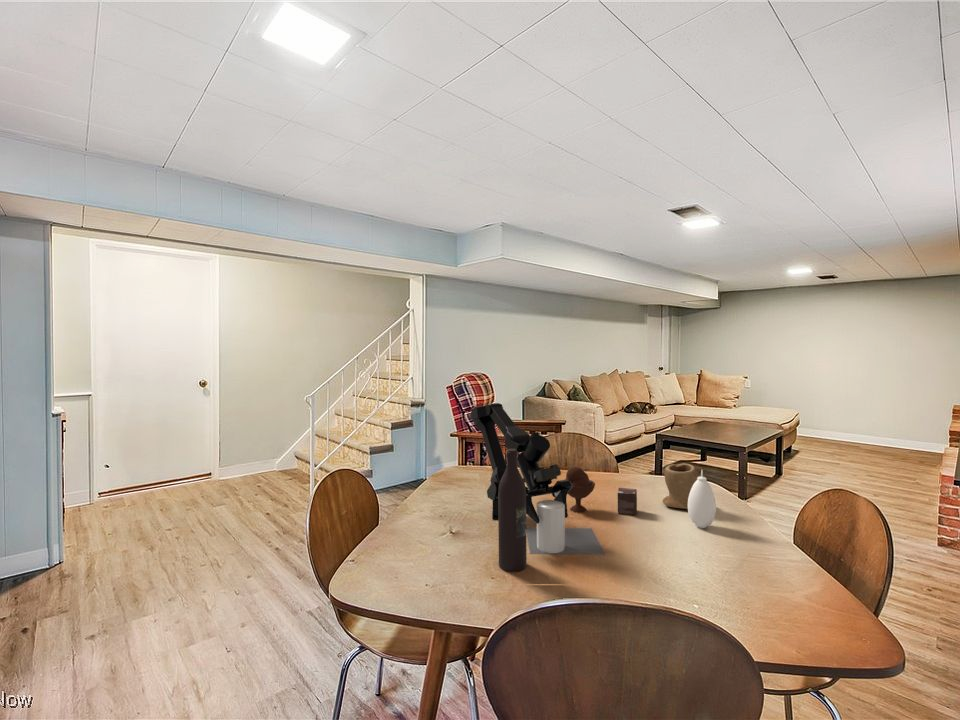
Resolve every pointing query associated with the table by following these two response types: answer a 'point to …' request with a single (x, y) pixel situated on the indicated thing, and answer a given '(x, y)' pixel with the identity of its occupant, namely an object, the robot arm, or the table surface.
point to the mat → (570, 542)
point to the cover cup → (551, 526)
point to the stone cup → (679, 484)
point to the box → (627, 501)
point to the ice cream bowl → (579, 487)
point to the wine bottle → (512, 517)
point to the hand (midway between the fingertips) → (552, 520)
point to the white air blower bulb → (701, 503)
